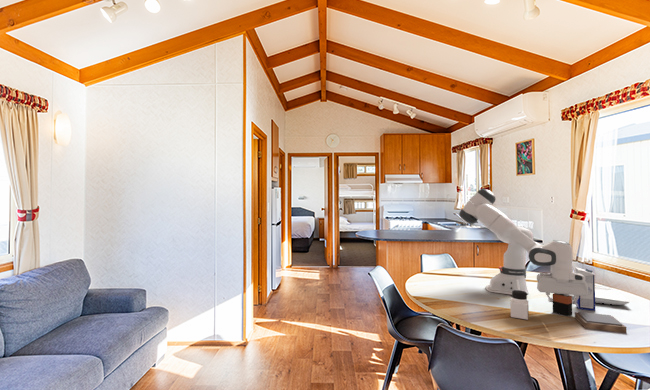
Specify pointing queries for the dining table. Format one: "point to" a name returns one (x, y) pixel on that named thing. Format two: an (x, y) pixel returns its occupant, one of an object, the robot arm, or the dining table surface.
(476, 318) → the dining table surface
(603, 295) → the square plate
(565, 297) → the battery
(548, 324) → the dining table surface
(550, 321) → the dining table surface
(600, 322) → the wooden square tray
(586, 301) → the milk carton
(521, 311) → the medicine bottle
